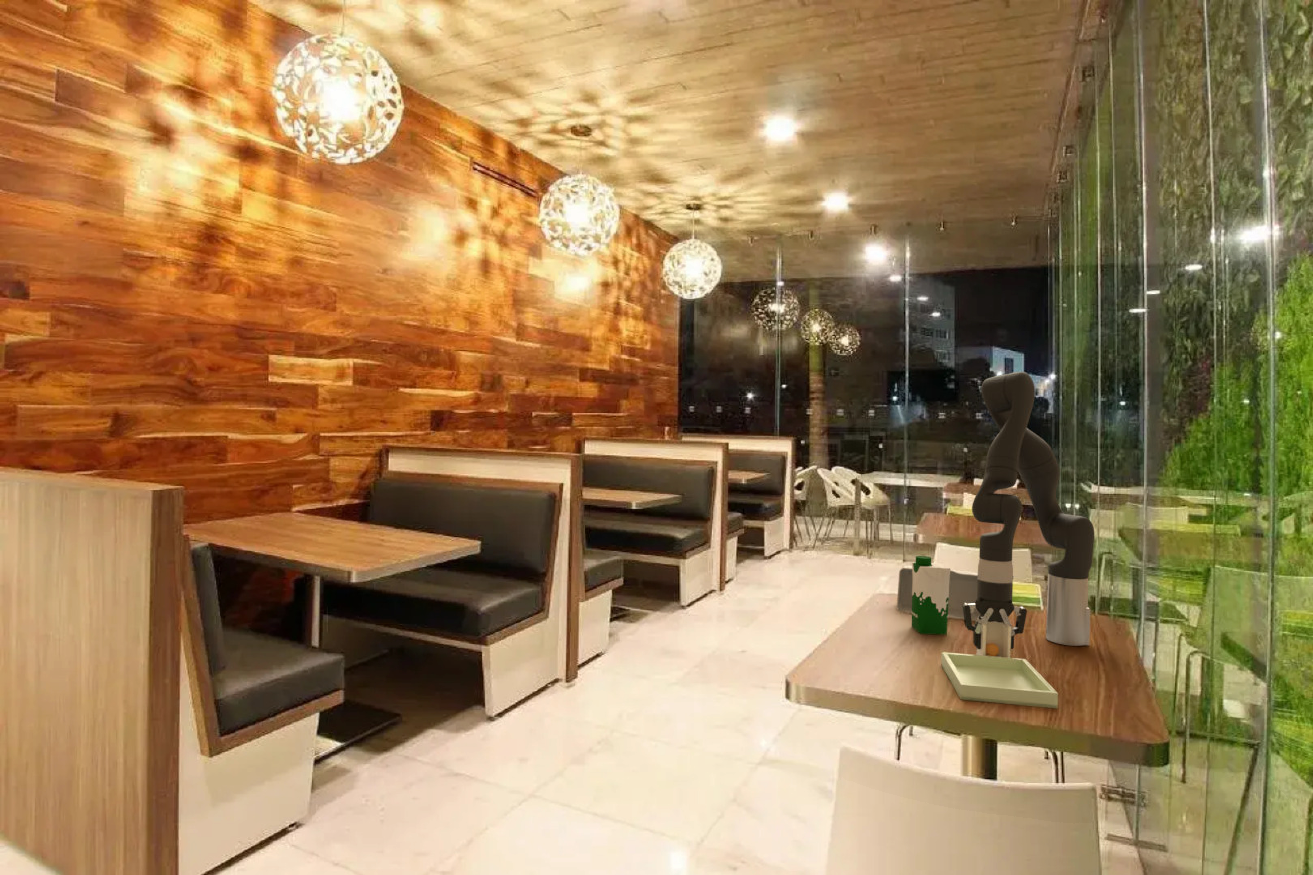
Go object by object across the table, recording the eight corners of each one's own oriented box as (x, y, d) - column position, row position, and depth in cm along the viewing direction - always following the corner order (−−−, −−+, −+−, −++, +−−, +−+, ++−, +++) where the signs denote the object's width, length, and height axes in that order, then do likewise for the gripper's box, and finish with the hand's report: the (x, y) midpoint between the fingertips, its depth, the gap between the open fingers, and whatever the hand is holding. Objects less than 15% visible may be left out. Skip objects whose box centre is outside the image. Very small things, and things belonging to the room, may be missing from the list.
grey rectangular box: (988, 610, 224) (989, 569, 224) (987, 622, 209) (989, 579, 209) (902, 600, 234) (903, 561, 234) (896, 611, 220) (897, 570, 220)
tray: (1025, 672, 166) (1025, 659, 166) (1057, 708, 145) (1058, 693, 145) (941, 664, 170) (941, 652, 170) (960, 699, 148) (961, 684, 148)
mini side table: (976, 655, 176) (977, 618, 176) (1003, 657, 175) (1004, 620, 174) (982, 663, 170) (983, 624, 170) (1010, 665, 169) (1011, 626, 169)
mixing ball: (997, 655, 174) (996, 642, 174) (1000, 657, 171) (1000, 644, 172) (983, 655, 175) (983, 642, 175) (986, 657, 172) (986, 644, 172)
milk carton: (907, 625, 203) (909, 554, 203) (940, 626, 203) (942, 555, 203) (917, 634, 195) (920, 559, 194) (952, 636, 194) (954, 561, 194)
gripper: (1023, 576, 174) (1021, 647, 175) (959, 573, 177) (957, 642, 177) (1033, 583, 167) (1031, 656, 167) (966, 579, 170) (964, 651, 170)
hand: (993, 649), depth 172 cm, fingers closed on mini side table, 6 cm apart
